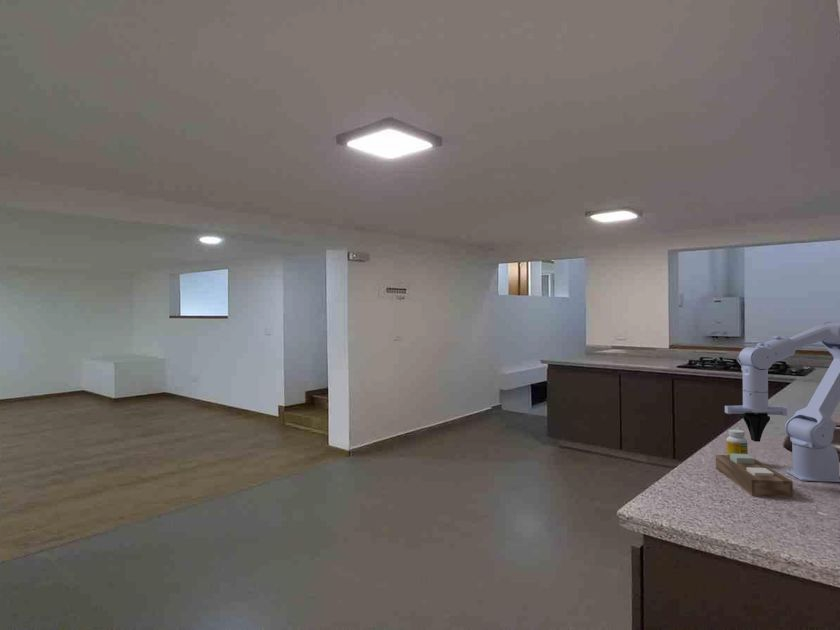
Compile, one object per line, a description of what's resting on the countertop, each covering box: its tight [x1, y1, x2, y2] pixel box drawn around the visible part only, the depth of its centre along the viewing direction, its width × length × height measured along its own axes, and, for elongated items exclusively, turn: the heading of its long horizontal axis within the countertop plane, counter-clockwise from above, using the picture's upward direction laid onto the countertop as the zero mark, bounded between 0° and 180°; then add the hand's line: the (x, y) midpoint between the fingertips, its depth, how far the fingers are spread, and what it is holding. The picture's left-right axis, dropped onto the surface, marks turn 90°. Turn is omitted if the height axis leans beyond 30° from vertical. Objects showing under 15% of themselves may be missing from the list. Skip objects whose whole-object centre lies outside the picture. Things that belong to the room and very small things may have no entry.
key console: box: [715, 454, 794, 499], centre depth 130 cm, size 9×22×4 cm, turn 169°
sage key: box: [730, 453, 756, 464], centre depth 135 cm, size 4×4×3 cm
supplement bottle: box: [725, 429, 749, 455], centre depth 147 cm, size 5×5×10 cm
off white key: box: [746, 467, 774, 476], centre depth 125 cm, size 4×4×3 cm
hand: (755, 440), depth 132 cm, fingers closed
